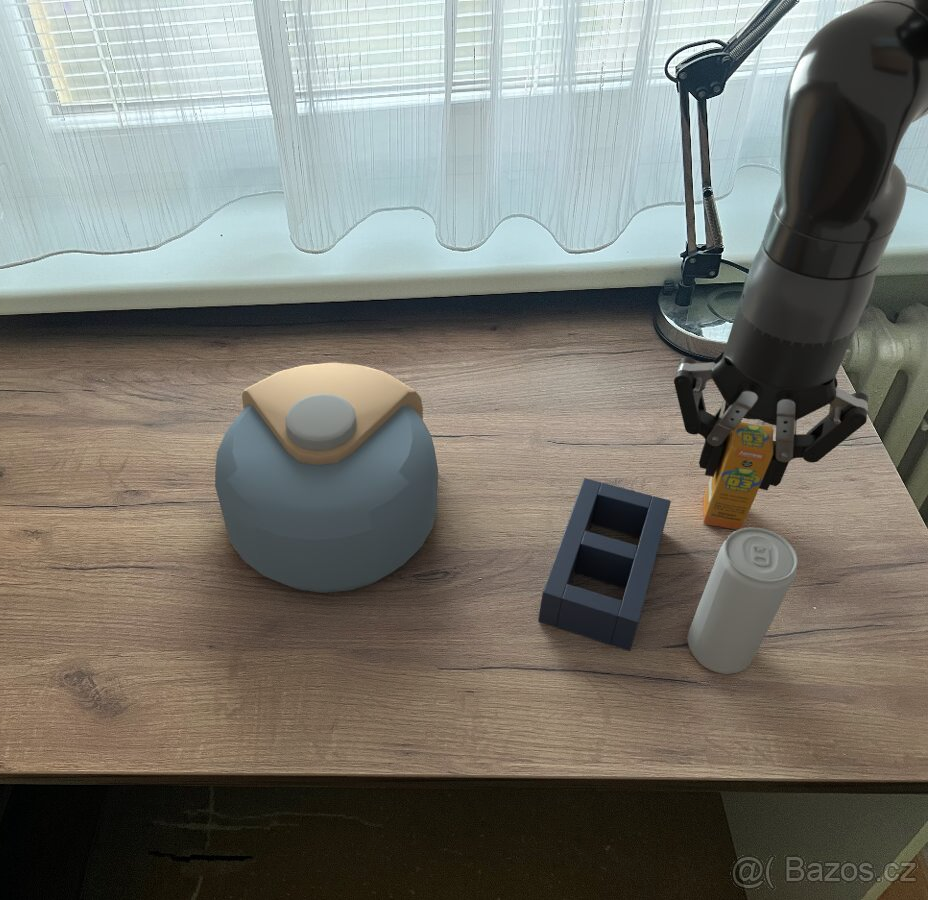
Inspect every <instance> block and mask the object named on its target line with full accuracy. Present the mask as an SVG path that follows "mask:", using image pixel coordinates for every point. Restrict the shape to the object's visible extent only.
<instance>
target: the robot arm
mask: <svg viewBox="0 0 928 900" xmlns="http://www.w3.org/2000/svg"><path fill="white" fill-rule="evenodd" d="M927 115H928V0H871V1H868V2H867V3H864V4H862V5H860V6H858V7H856V8H854V9H851V10H848V11H847V12H845V13H843V14H841V15H839V16H837V17H836V18H834V19H832V20H831V21H829V22H827V23H826V24H825V25H824V26H823V27H821V28H820V29H819V30H818V31H817V32H816V33H814V35H813V36H812V38H811V39H810V40H809V41H808V42H807V44H806V45H805V47H804V48H803V50H802V52H801V54H800V56H799V57H798V59H797V61H796V63H795V65H794V67H793V70H792V72H791V74H790V77H789V80H788V83H787V86H786V90H785V94H784V99H783V105H782V115H781V133H780V155H779V157H780V158H779V165H780V166H779V167H780V169H779V170H780V187H779V189H778V190H777V191H778V192H777V194H776V197H775V198H774V199H775V200H774V203H773V206H772V209H771V213H770V215H769V218H768V222H767V225H766V228H765V231H764V235H763V238H762V241H761V244H760V246H759V249H758V250H757V252H756V254H755V256H754V258H753V260H752V263H751V265H750V267H749V270H748V273H747V276H746V278H745V279H744V282H743V284H742V285H743V286H742V293H741V296H740V299H739V303H738V306H737V309H736V312H735V316H734V319H733V322H732V324H731V325H732V326H731V329H730V331H729V335H728V339H727V342H726V345H725V348H724V350H723V351H722V352H721V353H720V354H718V355H717V356H716V357H715V359H714V360H713V361H712V362H711V361H710V362H698V363H697V362H696V360H695V359H694V358H693V357H691V356H684V357H681V359H680V360H679V362H678V366H677V368H676V373H675V376H674V379H673V384H674V389H675V392H676V397H677V401H678V405H679V409H680V413H681V417H682V422H683V427H684V429H685V430H684V431H685V432H686V433H688V434H689V435H692V436H693V435H698V434H699V435H700V436H701V437H703V438H704V443H703V447H702V449H701V452H700V456H699V461H698V464H699V465H698V466H699V468H700V469H704V470H705V472H704V476H706V477H707V476H708V477H710V478H711V477H714V474H715V471H716V468H717V465H718V463H719V460H720V457H721V454H722V451H723V448H724V443H725V439H726V438H727V436H728V435H729V434H730V432H731V431H734V430H735V428H736V427H737V426H738V424H739V423H740V422H742V420H743V419H746V420H760V421H762V422H764V423H766V424H768V425H771V426H775V440H773V456H772V458H771V461H770V463H769V466H768V468H767V470H766V473H765V475H764V477H763V480H762V482H761V484H760V487H759V489H758V490H763V491H768V490H769V488H770V486H771V487H777V486H778V485H779V484H781V482H782V480H783V477H784V475H785V473H786V470H787V468H788V465H789V463H790V462H791V461H792V460H795V459H803V460H804V461H806V462H807V463H810V464H811V463H817V462H819V461H821V459H823V458H824V457H826V455H828V454H829V453H830V452H831V451H834V449H835V448H836V447H838V446H839V445H840V444H841V443H843V442H844V441H845V440H846V439H848V438H849V437H850V436H852V435H853V434H854V433H855V432H857V431H858V430H859V429H860V428H861V427H864V425H865V424H866V423H867V422H868V421H867V420H868V413H869V396H868V395H867V394H866V393H863V392H859V391H858V392H854V393H852V394H850V393H848V392H846V391H844V390H842V389H841V388H838V379H837V374H838V371H839V369H840V366H841V365H842V363H843V360H844V357H845V356H846V352H847V351H848V349H849V346H850V344H851V341H852V339H853V337H854V334H855V332H856V330H857V328H858V326H859V324H860V321H861V319H862V316H863V313H864V311H865V309H866V307H867V304H868V302H869V300H870V298H871V294H872V292H873V288H874V286H875V281H876V277H877V273H878V268H879V266H880V263H881V260H882V258H883V256H884V254H885V251H886V249H887V246H888V244H889V242H890V240H891V237H892V234H893V232H894V230H895V229H896V226H897V223H898V221H899V219H900V216H901V214H902V211H903V207H904V205H905V201H906V196H907V195H906V194H907V189H908V188H907V187H908V185H907V181H906V180H907V179H906V177H905V174H904V173H903V171H902V169H901V168H900V167H899V166H898V165H897V164H896V163H895V160H896V155H897V153H898V150H899V147H900V145H901V143H902V140H903V138H904V136H905V134H906V132H907V131H908V129H909V128H910V126H911V125H912V123H914V122H916V121H918V120H920V119H921V118H924V117H925V116H927ZM710 380H712V382H713V383H714V384H715V386H716V388H717V389H718V392H719V394H720V395H721V397H722V398H723V400H722V403H721V404H720V406H719V408H718V409H717V410H716V412H715V413H714V414H712V413H710V412H708V411H707V409H706V403H705V398H704V393H703V391H704V390H705V388H706V386H707V383H708V381H710ZM827 405H829V407H828V414H827V415H826V416H824V418H822V419H821V420H819V422H818V423H816V424H815V425H814V426H813V427H812V428H810V430H808V431H807V432H806V433H800V434H799V433H797V428H798V427H797V426H798V425H797V424H798V420H800V419H802V418H805V417H806V416H808V415H810V414H812V413H813V412H814V413H815V412H816V411H817V410H820V409H823V408H824V407H826V406H827Z"/></svg>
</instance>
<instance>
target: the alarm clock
mask: <svg viewBox="0 0 928 900" xmlns="http://www.w3.org/2000/svg"><path fill="white" fill-rule="evenodd" d="M241 398H242V407H243V409H242V410H241V412H240V413H238V415H237V416H236V417H235V419H234V420H233V422H232V423H231V424H230V425H229V427H228V428H227V429H226V431H225V433H224V435H223V437H222V440H221V443H220V445H219V447H218V449H217V452H216V459H215V471H214V487H215V491H216V494H217V499H218V504H219V507H220V510H221V514H222V518H223V522H224V526H225V529H226V532H227V536H228V539H229V543H230V544H231V545H232V547H233V548H234V549H235V551H236V552H237V554H238V555H239V556H240V558H241V559H242V561H243V562H245V564H247V565H249V566H250V567H251V568H253V569H254V570H255V571H257V572H258V573H259V574H260V575H262V576H263V577H266V578H268V579H271V580H273V581H275V582H278V583H279V584H282V585H285V586H288V587H290V588H293V589H296V590H300V591H308V592H315V593H321V594H323V593H324V594H325V593H336V592H337V593H338V592H348V591H352V590H355V589H358V588H362V587H366V586H369V585H372V584H374V583H377V582H378V581H379V580H382V579H383V578H385V577H387V576H388V575H390V574H392V573H394V572H396V570H397V569H399V568H400V567H402V566H404V565H405V564H406V563H407V562H408V561H409V560H410V559H411V558H412V557H413V556H414V555H415V554H416V553H417V552H418V551H419V550H420V549H421V548H422V547H423V545H424V543H425V541H426V540H427V539H428V537H429V534H430V533H431V531H432V529H433V528H434V524H435V519H436V515H437V509H438V497H439V496H438V493H439V491H438V489H439V488H438V487H439V486H438V484H439V482H438V479H439V478H438V477H439V468H438V461H437V455H436V447H435V445H434V441H433V436H432V434H431V432H430V430H429V428H428V427H427V425H426V423H425V422H424V407H423V401H422V396H420V394H419V393H418V392H417V391H416V390H415V389H414V388H412V387H411V386H409V385H407V384H405V383H404V382H402V381H401V380H399V379H397V378H395V377H394V376H393V375H391V374H389V373H387V372H385V371H383V370H380V369H376V368H372V367H368V366H365V365H361V364H353V363H342V362H323V363H312V364H303V365H299V366H295V367H290V368H287V369H283V370H279V371H277V372H275V373H273V374H271V375H270V376H268V377H265V378H264V379H261V380H260V381H258V382H255V383H254V384H252V385H250V386H248V387H245V388H244V389H243V391H242V395H241Z"/></svg>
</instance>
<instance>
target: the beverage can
mask: <svg viewBox="0 0 928 900" xmlns="http://www.w3.org/2000/svg"><path fill="white" fill-rule="evenodd" d="M798 562H799V559H798V556H797V551H796V550H795V549H794V547H793V546H792V544H790V542H789V541H787V539H786V538H785V537H782V536H781V535H780V534H778V533H776V532H774V531H771V530H769V529H765V528H762V527H742V529H739V530H737V529H736V530H735V531H733V532H732V533H730V534H729V535H728V536H727V538H726V539H725V540H724V541H723V543H722V544H721V547H719V551H718V553H717V556H716V559H715V561H714V564H713V567H712V569H711V572H710V574H709V577H708V580H707V582H706V585H705V587H704V591H703V593H702V596H701V598H700V600H699V604H698V606H697V609H696V610H695V614H694V616H693V619H692V621H691V624H690V627H689V630H688V632H687V638H686V640H687V645H688V648H689V651H690V652H691V655H693V657H694V658H695V659H696V661H697V662H698V663H699V664H700V665H702V666H703V668H705V669H708V670H710V671H711V672H715V673H718V674H723V675H724V674H725V675H731V674H737V673H739V672H742V671H744V670H746V669H747V668H748V667H749V666H750V665H751V663H752V661H753V660H754V658H755V656H756V654H757V652H758V650H759V648H760V646H761V644H762V642H763V640H764V638H765V636H766V634H767V633H768V631H769V629H770V627H771V625H772V623H773V621H774V619H775V617H776V615H777V613H778V611H779V609H780V607H781V605H782V603H783V602H784V599H785V598H786V596H787V594H788V592H789V589H790V587H791V585H792V583H793V581H794V579H795V577H796V575H797V568H798V564H799V563H798Z"/></svg>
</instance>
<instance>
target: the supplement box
mask: <svg viewBox="0 0 928 900" xmlns="http://www.w3.org/2000/svg"><path fill="white" fill-rule="evenodd" d="M773 441H774V427H773V425H771V424H764V425H763V424H762V425H761V424H755V423H750V422H744V421H743V422H742V421H741V422H740V423H739V424H738V426H737V427H736V428H735V430H734V431H731V432H730V434H729V435H728V436H727V438H726V439H725V443H724V448H723V451H722V454H721V457H720V460H719V463H718V465H717V468H716V471H715V474H714V477H711V476H710V479H709V481H708V484H707V486H706V489H705V492H704V495H703V500H702V501H703V502H702V505H703V506H702V517H703V519H702V520H703V521H702V523H703V524H704V525H707V526H713V527H720V528H726V529H732V530H736V531H737V530H739V529H742V528H743V527H744V524H745V522H746V519H747V517H748V515H749V512H750V511H751V508H752V506H753V504H754V501H755V499H756V496H757V494H758V491H759V490H760V489H759V487H760V484H761V482H762V480H763V477H764V475H765V473H766V470H767V468H768V466H769V463H770V461H771V458H772V456H773Z"/></svg>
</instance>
